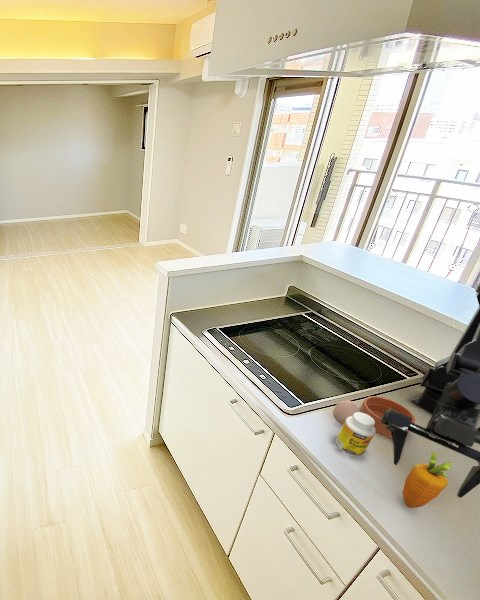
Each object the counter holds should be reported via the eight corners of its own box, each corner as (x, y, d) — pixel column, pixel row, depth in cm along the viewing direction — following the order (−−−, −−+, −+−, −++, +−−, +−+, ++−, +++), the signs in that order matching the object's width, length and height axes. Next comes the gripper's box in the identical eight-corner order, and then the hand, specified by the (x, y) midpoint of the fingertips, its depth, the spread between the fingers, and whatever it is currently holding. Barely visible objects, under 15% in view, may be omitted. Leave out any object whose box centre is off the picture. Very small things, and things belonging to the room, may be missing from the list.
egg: (327, 413, 91) (335, 393, 87) (349, 417, 89) (359, 397, 86) (333, 428, 86) (342, 407, 83) (357, 432, 85) (368, 412, 81)
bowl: (373, 405, 92) (380, 392, 90) (416, 432, 84) (424, 418, 82) (348, 415, 90) (355, 402, 87) (389, 444, 81) (398, 430, 79)
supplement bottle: (340, 455, 79) (355, 425, 74) (331, 436, 84) (345, 407, 79) (367, 460, 78) (384, 430, 73) (357, 440, 83) (372, 411, 78)
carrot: (393, 489, 71) (424, 443, 64) (424, 506, 68) (461, 459, 61) (390, 506, 68) (422, 459, 61) (423, 524, 65) (461, 477, 58)
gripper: (403, 379, 67) (370, 448, 65) (553, 434, 54) (516, 521, 53) (394, 389, 75) (365, 451, 73) (523, 439, 62) (490, 514, 61)
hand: (425, 480), depth 65 cm, fingers open, 9 cm apart
